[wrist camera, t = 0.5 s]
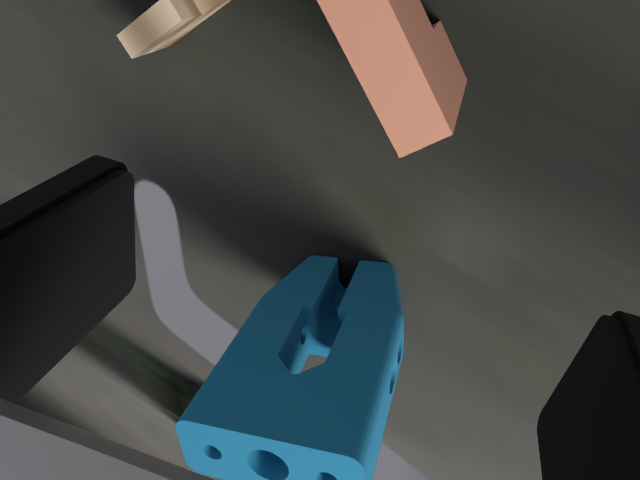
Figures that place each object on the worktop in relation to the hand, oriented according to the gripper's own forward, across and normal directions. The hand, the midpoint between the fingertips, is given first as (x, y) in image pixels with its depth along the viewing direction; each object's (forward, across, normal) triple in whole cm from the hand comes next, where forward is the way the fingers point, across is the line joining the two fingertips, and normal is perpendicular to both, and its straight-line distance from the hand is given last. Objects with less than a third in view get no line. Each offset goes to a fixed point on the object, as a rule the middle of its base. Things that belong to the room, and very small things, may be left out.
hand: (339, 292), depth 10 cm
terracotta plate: (+30, +3, -2) cm, 30 cm away
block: (+31, +2, +22) cm, 37 cm away
